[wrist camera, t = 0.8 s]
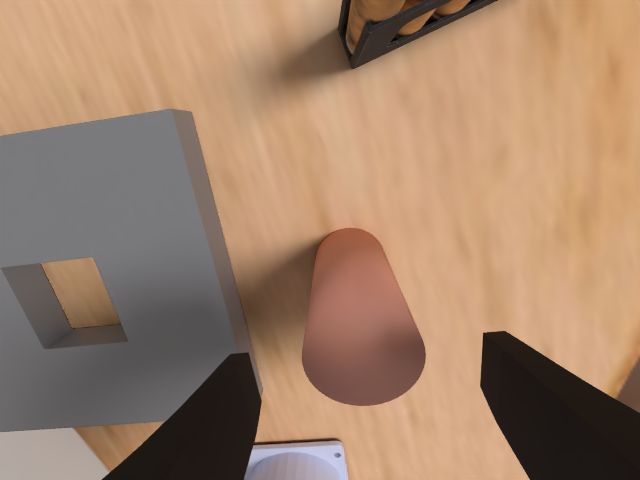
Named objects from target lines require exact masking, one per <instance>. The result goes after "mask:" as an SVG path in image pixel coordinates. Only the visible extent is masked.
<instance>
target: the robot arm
mask: <svg viewBox="0 0 640 480" xmlns="http://www.w3.org/2000/svg"><path fill="white" fill-rule="evenodd" d="M480 387H481V389H482V391H483V394H484V396H485V398H486V400H487V403H488V405H489V407H490V409H491V412H492V414H493V416H494V418H495V420H496V422H497V424H498V426H499V428H500V429H501V431H502V433H503V434H504V436H505V438H506V440H507V441H508V443H509V445H510V447H511V448H512V450H513V452H514V453H515V455H516V457H517V458H518V460H519V462H520V464H521V465H522V467H523V469H524V470H525V472H526V474H527V475H528V477H529V479H530V480H640V413H639V412H637V411H635V410H633V409H632V408H630V407H628V406H626V405H625V404H623V403H621V402H619V401H618V400H616V399H614V398H612V397H611V396H609V395H607V394H605V393H604V392H602V391H600V390H599V389H597V388H595V387H594V386H592V385H590V384H589V383H587V382H585V381H584V380H582V379H581V378H579V377H577V376H576V375H574V374H572V373H571V372H569V371H568V370H566V369H564V368H563V367H561V366H560V365H558V364H556V363H555V362H553V361H552V360H550V359H549V358H547V357H545V356H544V355H542V354H541V353H539V352H538V351H536V350H534V349H533V348H531V347H530V346H528V345H527V344H525V343H524V342H522V341H520V340H519V339H517V338H516V337H514V336H512V335H511V334H509V333H507V332H506V331H499V332H487V333H483V346H482V364H481V383H480ZM261 402H262V401H261V397H260V393H259V389H258V386H257V382H256V378H255V374H254V370H253V367H252V363H251V359H250V355H249V352H246V353H234V354H230V355H229V356H228V357H227V358H226V359H225V360H224V361H223V362H222V363H221V364H220V365H219V366H218V367H217V368H216V369H215V370H214V372H213V373H212V374H211V375H210V376H209V377H208V378H207V379H206V380H205V381H204V382H203V383H202V384H201V386H200V387H199V388H198V389H197V390H196V391H195V392H194V393H193V394H192V395H191V396H190V397H189V398H188V399H187V400H186V401H185V402H184V403H183V404H182V406H181V407H180V408H179V409H178V410H177V411H176V412H175V413H174V414H173V415H172V416H171V417H169V418H168V419H167V420H166V421H165V422H164V423H163V424H162V425H161V426H160V427H159V428H158V429H157V430H156V431H155V432H154V433H153V434H152V435H151V436H150V437H149V438H148V439H147V440H146V441H145V442H144V443H143V444H142V445H141V446H140V447H138V448H137V449H136V450H135V451H134V452H133V453H132V454H131V455H130V456H128V457H127V458H126V459H125V460H124V461H123V462H122V463H121V464H119V465H118V466H117V467H116V468H115V469H114V470H112V471H111V472H110V473H109V474H108V475H107V476H105V477H104V478H103V479H102V480H244V479H245V480H349V479H348V473H347V466H346V460H345V453H344V447H343V444H342V443H341V442H340V441H322V442H305V443H287V444H269V445H254V441H255V437H256V433H257V427H258V421H259V415H260V408H261Z"/></svg>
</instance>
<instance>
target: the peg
mask: <svg viewBox="0 0 640 480" xmlns="http://www.w3.org/2000/svg"><path fill="white" fill-rule="evenodd" d="M425 357H426V353H425V346H424V343H423V340H422V338H421V335H420V333H419V331H418V328H417V326H416V324H415V322H414V319H413V317H412V315H411V312H410V310H409V308H408V305H407V303H406V301H405V298H404V296H403V294H402V292H401V289H400V287H399V285H398V282H397V280H396V278H395V275H394V273H393V271H392V268H391V266H390V264H389V262H388V259H387V257H386V255H385V252H384V250H383V248H382V246H381V244H380V242H379V241H378V240H377V239H376V238H375V237H374V236H373V235H372V234H370V233H368V232H366V231H364V230H361V229H356V228H345V229H341V230H338V231H335V232H333V233H331V234H330V235H328V236H327V237H326V238H325V239H324V240H323V241H322V243H321V244H320V246H319V248H318V250H317V253H316V259H315V266H314V273H313V280H312V287H311V294H310V301H309V308H308V315H307V322H306V329H305V336H304V343H303V350H302V363H303V367H304V371H305V373H306V375H307V377H308V379H309V380H310V382H311V383H312V384H313V385H314V387H315V388H317V389H318V390H319V391H320V392H321V393H323V394H324V395H325V396H327V397H329V398H331V399H333V400H335V401H338V402H341V403H344V404H349V405H357V406H370V405H377V404H382V403H385V402H388V401H391V400H393V399H395V398H397V397H399V396H401V395H403V394H404V393H405V392H407V391H408V390H409V389H410V388H411V387H412V386H413V385H414V384H415V383H416V381H417V380H418V379H419V377H420V375H421V373H422V371H423V368H424V364H425Z"/></svg>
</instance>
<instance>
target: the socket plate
mask: <svg viewBox="0 0 640 480" xmlns="http://www.w3.org/2000/svg"><path fill="white" fill-rule="evenodd" d="M88 257H93V258H94V260H95V263H96V265H97V267H98V270H99V272H100V275H101V277H102V279H103V282H104V284H105V287H106V289H107V291H108V294H109V296H110V298H111V301H112V303H113V306H114V308H115V310H116V313H117V315H118V318H119V320H120V322H121V324H118V325H107V326H97V327H86V328H76V329H72V328H71V326H70V324H69V322H68V320H67V318H66V316H65V314H64V312H63V310H62V308H61V305H60V303H59V301H58V299H57V297H56V295H55V293H54V291H53V289H52V287H51V285H50V283H49V281H48V279H47V277H46V275H45V273H44V271H43V269H42V266H41V264H40V263H45V262H54V261H63V260H71V259H80V258H88ZM246 352H249V355H250V359H251V363H252V367H253V370H254V374H255V378H256V382H257V386H258V389H259V393H260V397H261V395H262V392H263V388H262V384H261V380H260V376H259V372H258V368H257V364H256V360H255V357H254V353H253V349H252V345H251V341H250V337H249V333H248V329H247V325H246V322H245V318H244V314H243V310H242V306H241V302H240V298H239V294H238V290H237V286H236V283H235V279H234V275H233V271H232V267H231V263H230V259H229V255H228V251H227V248H226V244H225V240H224V236H223V232H222V228H221V224H220V220H219V216H218V212H217V209H216V205H215V201H214V197H213V193H212V189H211V185H210V181H209V177H208V173H207V170H206V166H205V162H204V158H203V154H202V150H201V146H200V142H199V138H198V135H197V131H196V127H195V123H194V119H193V115H192V112H189V111H182V110H176V109H167V110H160V111H154V112H148V113H142V114H135V115H129V116H123V117H117V118H110V119H104V120H98V121H91V122H85V123H79V124H73V125H66V126H60V127H54V128H47V129H41V130H35V131H29V132H22V133H16V134H10V135H4V136H0V432H9V431H24V430H39V429H55V428H70V427H85V426H100V425H116V424H131V423H146V422H162V421H166V420H167V419H168V418H169V417H171V416H172V415H173V414H174V413H175V412H176V411H177V410H178V409H179V408H180V407H181V406H182V404H183V403H184V402H185V401H186V400H187V399H188V398H189V397H190V396H191V395H192V394H193V393H194V392H195V391H196V390H197V389H198V388H199V387H200V386H201V384H202V383H203V382H204V381H205V380H206V379H207V378H208V377H209V376H210V375H211V374H212V373H213V372H214V370H215V369H216V368H217V367H218V366H219V365H220V364H221V363H222V362H223V361H224V360H225V359H226V358H227V357H228V356H229V355H230V354H234V353H246Z"/></svg>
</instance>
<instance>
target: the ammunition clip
mask: <svg viewBox="0 0 640 480" xmlns="http://www.w3.org/2000/svg"><path fill="white" fill-rule="evenodd" d="M495 1H497V0H342V6H341V13H340V19H339V25H338V31H339V33H340V36H341V39H342V42H343V45H344V48H345V51H346V54H347V57H348V60H349V63H350V66H351V68H353V69H355V68H357V67H359V66H361V65H363V64H365V63H367V62H369V61H371V60H374V59H376V58H378V57H380V56H382V55H384V54H386V53H388V52H390V51H392V50H394V49H397V48H399V47H401V46H403V45H405V44H407V43H409V42H411V41H413V40H415V39H418V38H420V37H422V36H424V35H426V34H428V33H430V32H432V31H434V30H436V29H439V28H441V27H443V26H445V25H447V24H449V23H451V22H453V21H455V20H457V19H460V18H462V17H464V16H466V15H468V14H470V13H472V12H474V11H476V10H478V9H480V8H483V7H485V6H487V5H489V4H491V3H493V2H495Z"/></svg>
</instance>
